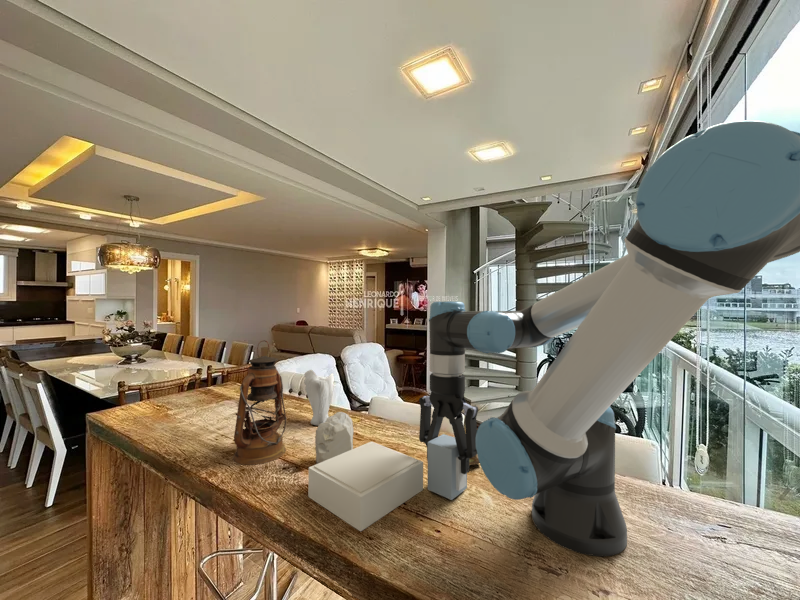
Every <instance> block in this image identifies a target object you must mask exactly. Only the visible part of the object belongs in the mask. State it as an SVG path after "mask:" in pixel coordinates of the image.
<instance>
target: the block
mask: <svg viewBox="0 0 800 600" xmlns="http://www.w3.org/2000/svg"><path fill="white" fill-rule="evenodd" d="M458 456H459V452H458V448H457V444H456V440H455V436H452V435H448V434H445V433H444V434H443V433H442V434H441V435H438V437H437V438H435V439H433V440H431V441H429V442H428V460H427V490H428V491H430V492H432V493H435V494H437V495H439V496H441V497H444V498H446V499H448V500H451V501H452V500H454V499H455V498H456V497H458V496H459V495H460V494H461V493H463V492H464V491H465V490H467V489H468V473H466V486H465V487H464V488H462V489H461V490H460V491H458V490H456V457H458Z"/></svg>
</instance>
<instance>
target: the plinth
mask: <svg viewBox="0 0 800 600" xmlns="http://www.w3.org/2000/svg"><path fill="white" fill-rule="evenodd" d="M307 479H308V484H307V485H308V487H307V488H308V492H307V493H308V495H307V496H308V498H310V499H311V500H312V501H314V502H315V503H317V504H318V505H320V506H321V507H323V508H324V509H325V510H328V511H329V512H330V513H332V514H334V515H335V516H336V517H338V518H339V519H341V520H342V521H344V522H345V523H347V524H348V525H350V526H351V527H353V528H354V529H356V530H358V531H360V532H362V531H364V530H365V529H367V528H368V527H370V526H371V525H372V524H374V523H376V522H377V521H379V520H380V519H382V518H383V517H384V516H386V515H387V514H389V513H391V512H392V511H394V510H395V509H397V508H398V507H399V506H401V505H402V504H405V502H407V501H408V500H410V499H411V498H413V497H414V496H416V495H417V494H419V493H420V492H422V491H424V461H422V460H420V459H418V458H416V457H412V456H410V455H408V454H405V453H403V452H399V451H397V450H395V449H392V448H389V447H387V446H384V445H382V444H379V443H376V442H374V441H372V440H371V441H369V442H367V443H365V444H362V445H359V446H357V447H354V448H353V449H352V450H350V451H347V452H345V453H343V454H340V455H338V456H335V457H333V458H331V459H328V460H326V461H323V462H321V463H319V464H317V463H316V464H314V465H312V466H309V467H308V478H307Z"/></svg>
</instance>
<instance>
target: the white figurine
mask: <svg viewBox="0 0 800 600" xmlns="http://www.w3.org/2000/svg"><path fill="white" fill-rule="evenodd" d="M334 376H335V375H334V372H332V373H330V374H329V375H328V376H327V377H326V376H325V377H319V376H318V375H317V374H316V373H315V370H312V369H309V370H306V372H304V378H305V379H304V381H303V383H304V388H305V392H306V395H307V398H308V401H309V404H310V406H311V410H312V417H311V420H310V424H311V425H314V426H318V425H319V424H321V423H325V421H326V419H327V418H328V417H330V415H329V409H330V406H331V401H332V396H333V390H334V387H335V386H334V383H335V378H334Z"/></svg>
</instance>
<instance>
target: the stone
mask: <svg viewBox="0 0 800 600" xmlns="http://www.w3.org/2000/svg"><path fill="white" fill-rule="evenodd" d="M353 424H354V423H353V419H352V418H351V416H350V415H349V414H347V413H345V412H343V411H337V412H335V413H334V414H333V415H331V416H330V415H329V417H328V418H327V419H326V421H325V423H321V424H319V425H317V426H318V427H317V428H316V430H315V441H314V443H315V461H316V464H319V463H321V462H323V461H326V460H328V459H331V458H333V457H335V456H338V455H340V454H343V453H345V452H347V451H350V450H352V449H354V444H353V440H354V431H355V430H354V425H353Z"/></svg>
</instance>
